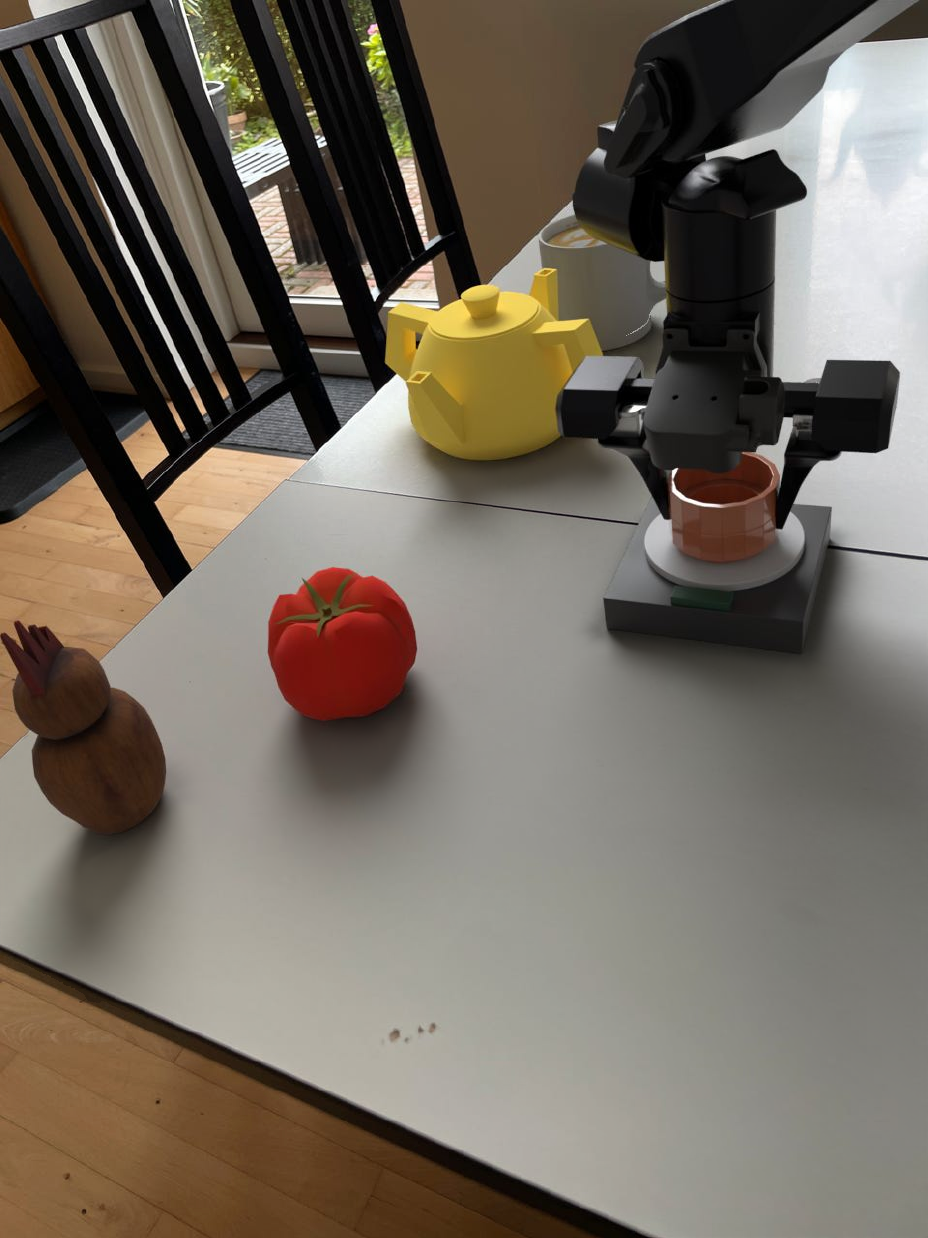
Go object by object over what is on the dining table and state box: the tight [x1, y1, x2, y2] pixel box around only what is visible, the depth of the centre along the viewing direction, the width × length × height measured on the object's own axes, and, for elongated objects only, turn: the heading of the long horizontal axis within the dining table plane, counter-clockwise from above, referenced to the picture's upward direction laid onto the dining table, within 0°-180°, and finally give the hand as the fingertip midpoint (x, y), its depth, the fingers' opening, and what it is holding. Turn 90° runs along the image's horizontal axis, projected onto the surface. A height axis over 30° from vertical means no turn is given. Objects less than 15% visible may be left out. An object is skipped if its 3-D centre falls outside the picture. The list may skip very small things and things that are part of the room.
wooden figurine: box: [0, 619, 167, 835], centre depth 54 cm, size 7×6×15 cm
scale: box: [602, 495, 833, 655], centre depth 65 cm, size 12×12×3 cm
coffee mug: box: [538, 213, 666, 352], centre depth 95 cm, size 13×10×10 cm
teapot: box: [384, 268, 604, 461], centre depth 84 cm, size 17×17×12 cm
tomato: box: [267, 566, 418, 721], centre depth 61 cm, size 9×9×8 cm
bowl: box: [667, 452, 781, 562], centre depth 63 cm, size 7×7×4 cm
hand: (723, 521), depth 63 cm, fingers closed on bowl, 7 cm apart
